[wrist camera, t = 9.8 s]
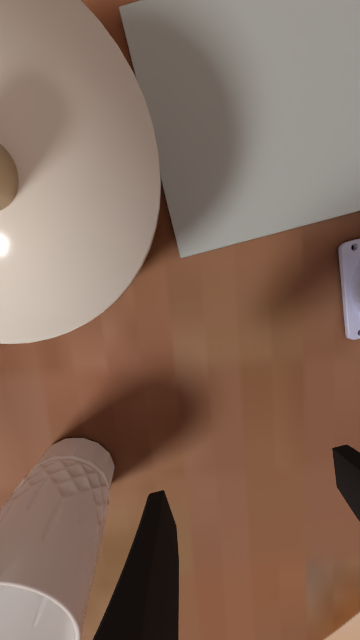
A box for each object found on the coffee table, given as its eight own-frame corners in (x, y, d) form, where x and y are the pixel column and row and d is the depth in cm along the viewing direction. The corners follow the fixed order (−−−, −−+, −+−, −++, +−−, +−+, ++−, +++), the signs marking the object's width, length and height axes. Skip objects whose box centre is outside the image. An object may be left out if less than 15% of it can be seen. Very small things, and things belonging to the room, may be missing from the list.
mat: (357, -53, 14) (363, -63, 13) (371, 207, 17) (376, 206, 16) (120, 14, 14) (118, 6, 13) (180, 258, 17) (180, 258, 17)
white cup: (38, 424, 20) (-89, 575, 10) (127, 437, 20) (88, 589, 11) (32, 495, 21) (-82, 682, 12) (115, 504, 22) (71, 689, 12)
